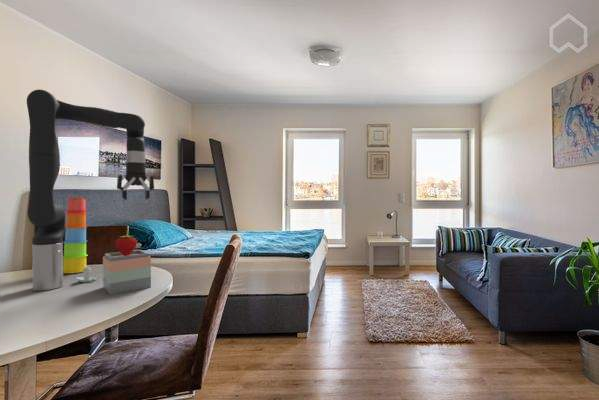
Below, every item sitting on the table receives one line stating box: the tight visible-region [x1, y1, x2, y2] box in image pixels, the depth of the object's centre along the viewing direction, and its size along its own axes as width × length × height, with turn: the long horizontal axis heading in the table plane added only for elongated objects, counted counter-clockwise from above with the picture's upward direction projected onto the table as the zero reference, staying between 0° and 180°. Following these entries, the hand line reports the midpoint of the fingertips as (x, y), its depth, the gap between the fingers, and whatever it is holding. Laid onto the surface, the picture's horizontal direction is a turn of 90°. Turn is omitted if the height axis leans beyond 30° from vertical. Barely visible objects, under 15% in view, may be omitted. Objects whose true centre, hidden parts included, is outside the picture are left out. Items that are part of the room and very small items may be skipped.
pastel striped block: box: [102, 249, 152, 295], centre depth 122 cm, size 14×12×13 cm
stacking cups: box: [63, 197, 89, 274], centre depth 147 cm, size 10×10×35 cm
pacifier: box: [75, 266, 99, 283], centre depth 131 cm, size 7×6×6 cm
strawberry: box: [114, 231, 138, 256], centre depth 122 cm, size 6×8×10 cm
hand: (136, 199), depth 137 cm, fingers open, 8 cm apart
